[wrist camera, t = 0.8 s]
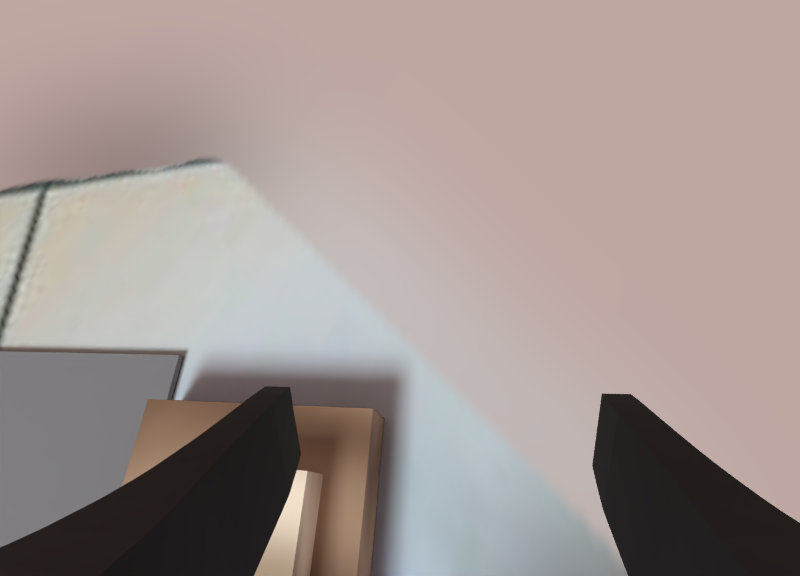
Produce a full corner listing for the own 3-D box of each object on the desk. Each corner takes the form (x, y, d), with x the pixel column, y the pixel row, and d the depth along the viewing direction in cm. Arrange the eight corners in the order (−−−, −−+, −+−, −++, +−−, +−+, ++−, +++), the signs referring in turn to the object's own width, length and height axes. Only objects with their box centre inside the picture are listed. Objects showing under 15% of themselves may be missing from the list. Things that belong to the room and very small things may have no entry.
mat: (36, 891, 19) (27, 898, 18) (-219, 817, 22) (-231, 822, 21) (183, 356, 28) (179, 355, 28) (-9, 352, 31) (-15, 350, 30)
